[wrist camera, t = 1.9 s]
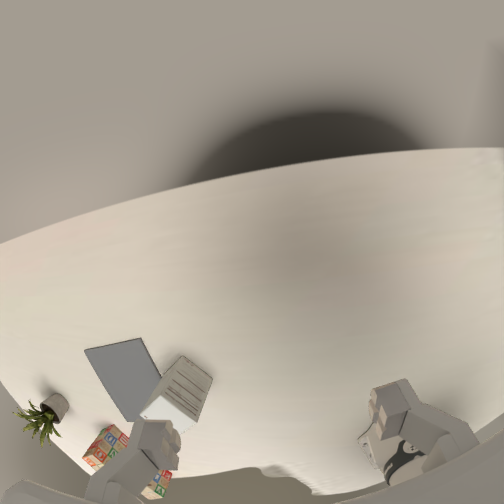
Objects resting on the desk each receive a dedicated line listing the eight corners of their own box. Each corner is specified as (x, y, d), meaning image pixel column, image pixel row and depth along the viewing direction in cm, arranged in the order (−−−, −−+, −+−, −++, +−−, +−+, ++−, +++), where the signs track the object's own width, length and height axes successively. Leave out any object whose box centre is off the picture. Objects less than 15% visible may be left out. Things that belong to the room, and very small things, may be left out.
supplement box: (192, 397, 52) (173, 441, 40) (162, 374, 52) (137, 414, 39) (214, 378, 51) (198, 423, 38) (183, 353, 50) (158, 395, 38)
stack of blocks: (173, 473, 59) (160, 506, 47) (159, 476, 60) (146, 507, 48) (113, 423, 57) (91, 455, 45) (102, 428, 58) (80, 458, 46)
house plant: (49, 367, 56) (11, 400, 40) (88, 406, 57) (55, 446, 41) (38, 389, 59) (5, 419, 43) (72, 424, 60) (44, 458, 44)
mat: (185, 417, 53) (184, 418, 53) (128, 420, 56) (127, 421, 55) (140, 337, 50) (139, 339, 50) (84, 349, 53) (83, 350, 52)
